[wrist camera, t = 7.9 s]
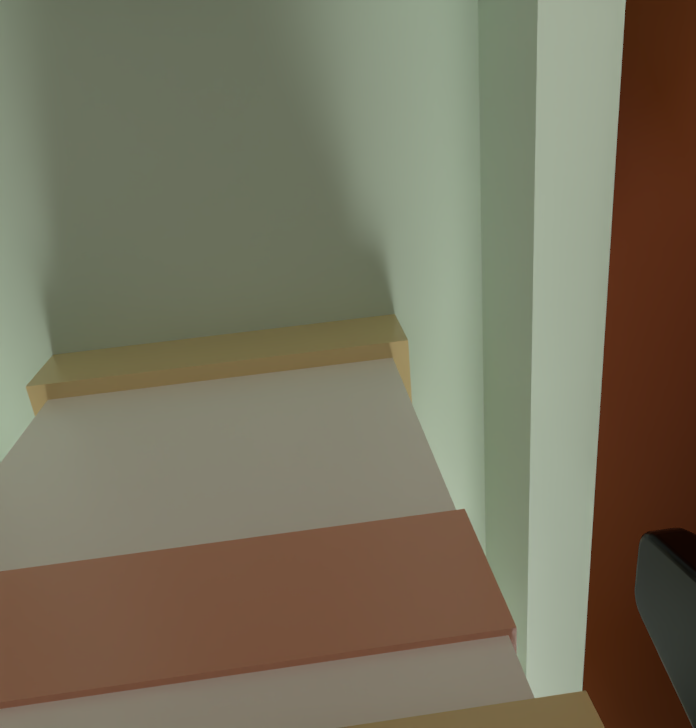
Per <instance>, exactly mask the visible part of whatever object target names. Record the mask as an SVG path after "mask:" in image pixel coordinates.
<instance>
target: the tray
mask: <svg viewBox="0 0 696 728" xmlns="http://www.w3.org/2000/svg"><path fill="white" fill-rule="evenodd" d="M625 4H626V0H0V463H1V462H2V460H3V459H4V458H5V456H6V455H7V454H8V452H9V451H10V450H11V448H12V447H13V446H14V444H15V443H16V442H17V440H18V439H19V438H20V436H21V435H22V434H23V432H24V431H25V430H26V428H27V427H28V426H29V424H30V423H31V422H32V420H33V419H34V418H35V415H34V412H33V409H32V405H31V402H30V399H29V396H28V393H27V389H26V386H27V384H28V383H29V382H30V381H31V380H32V379H33V377H34V376H35V375H36V374H37V373H38V372H39V370H40V369H41V368H42V367H43V366H44V365H45V363H46V362H47V361H48V360H49V359H50V358H51V356H52V355H55V354H63V353H72V352H80V351H88V350H97V349H105V348H114V347H122V346H130V345H139V344H147V343H156V342H164V341H172V340H181V339H189V338H197V337H206V336H214V335H223V334H231V333H239V332H248V331H256V330H265V329H273V328H281V327H290V326H298V325H307V324H315V323H323V322H332V321H340V320H349V319H357V318H365V317H374V316H382V315H390V314H395V315H396V317H397V319H398V321H399V323H400V325H401V327H402V329H403V331H404V333H405V335H406V337H407V339H408V346H409V362H410V379H411V395H412V405H413V407H414V410H415V412H416V415H417V417H418V419H419V422H420V424H421V427H422V429H423V431H424V434H425V436H426V439H427V441H428V443H429V446H430V448H431V451H432V453H433V455H434V458H435V460H436V463H437V465H438V467H439V470H440V472H441V475H442V477H443V479H444V482H445V484H446V487H447V489H448V491H449V494H450V496H451V499H452V501H453V503H454V506H455V508H456V510H459V509H465V511H466V513H467V515H468V517H469V520H470V522H471V524H472V526H473V529H474V531H475V533H476V536H477V538H478V540H479V542H480V545H481V547H482V549H483V552H484V554H485V556H486V558H487V561H488V563H489V565H490V568H491V570H492V572H493V574H494V577H495V579H496V581H497V584H498V586H499V588H500V590H501V593H502V595H503V597H504V599H505V602H506V604H507V606H508V609H509V611H510V613H511V615H512V618H513V620H514V622H515V625H516V627H517V657H518V659H519V662H520V664H521V666H522V669H523V671H524V674H525V676H526V678H527V681H528V683H529V686H530V688H531V690H532V693H533V695H534V698H540V697H546V696H553V695H559V694H566V693H573V692H579V691H582V686H583V670H584V654H585V638H586V622H587V606H588V591H589V575H590V559H591V543H592V527H593V511H594V496H595V480H596V464H597V448H598V432H599V416H600V400H601V385H602V369H603V353H604V337H605V321H606V305H607V289H608V274H609V258H610V242H611V226H612V210H613V194H614V179H615V163H616V147H617V131H618V115H619V99H620V83H621V68H622V52H623V36H624V20H625Z"/></svg>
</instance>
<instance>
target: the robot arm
mask: <svg viewBox="0 0 696 728" xmlns="http://www.w3.org/2000/svg"><path fill="white" fill-rule="evenodd" d="M635 599H636V604H637V607H638V610H639V613H640V615H641V618H642V620H643V622H644V624H645V626H646V628H647V630H648V633H649V635H650V637H651V639H652V641H653V643H654V645H655V648H656V650H657V652H658V654H659V656H660V658H661V660H662V663H663V665H664V667H665V669H666V671H667V673H668V675H669V678H670V680H671V682H672V684H673V686H674V688H675V690H676V693H677V695H678V697H679V699H680V701H681V703H682V705H683V708H684V710H685V712H686V714H687V716H688V718H689V720H690V723H691V725H692V727H693V728H696V534H694V533H692V532H690V531H687V530H685V529H682V528H670V529H663V530H656V531H649V532H647V533H645V534H644V535H643V536H642V537H641V539H640V543H639V551H638V561H637V571H636V581H635Z"/></svg>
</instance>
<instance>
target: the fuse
mask: <svg viewBox="0 0 696 728" xmlns="http://www.w3.org/2000/svg"><path fill="white" fill-rule="evenodd" d="M26 389H27V393H28V396H29V399H30V402H31V405H32V409H33V412H34V415H35V418H34V419H33V420H32V422H31V423H30V424H29V426H28V427H27V428H26V430H25V431H24V432H23V434H22V435H21V436H20V438H19V439H18V440H17V442H16V443H15V444H14V446H13V447H12V448H11V450H10V451H9V452H8V454H7V455H6V456H5V458H4V459H3V460H2V462H1V463H0V728H605V727H604V725H603V723H602V721H601V719H600V717H599V715H598V713H597V711H596V709H595V707H594V705H593V703H592V701H591V700H590V698H589V696H588V694H587V692H586V691H579V692H573V693H566V694H559V695H553V696H546V697H540V698H534V695H533V693H532V690H531V688H530V686H529V683H528V681H527V678H526V676H525V674H524V671H523V669H522V666H521V664H520V662H519V659H518V657H517V627H516V625H515V622H514V620H513V618H512V615H511V613H510V611H509V609H508V606H507V604H506V602H505V599H504V597H503V595H502V593H501V590H500V588H499V586H498V584H497V581H496V579H495V577H494V574H493V572H492V570H491V568H490V565H489V563H488V561H487V558H486V556H485V554H484V552H483V549H482V547H481V545H480V542H479V540H478V538H477V536H476V533H475V531H474V529H473V526H472V524H471V522H470V520H469V517H468V515H467V513H466V511H465V509H459V510H456V508H455V506H454V503H453V501H452V499H451V496H450V494H449V491H448V489H447V487H446V484H445V482H444V479H443V477H442V475H441V472H440V470H439V467H438V465H437V463H436V460H435V458H434V455H433V453H432V451H431V448H430V446H429V443H428V441H427V439H426V436H425V434H424V431H423V429H422V427H421V424H420V422H419V419H418V417H417V415H416V412H415V410H414V407H413V405H412V395H411V379H410V362H409V346H408V339H407V337H406V335H405V333H404V331H403V329H402V327H401V325H400V323H399V321H398V319H397V317H396V315H395V314H390V315H382V316H374V317H365V318H357V319H349V320H340V321H332V322H323V323H315V324H307V325H298V326H290V327H281V328H273V329H265V330H256V331H248V332H239V333H231V334H223V335H214V336H206V337H197V338H189V339H181V340H172V341H164V342H156V343H147V344H139V345H130V346H122V347H114V348H105V349H97V350H88V351H80V352H72V353H63V354H55V355H52V356H51V358H50V359H49V360H48V361H47V362H46V363H45V365H44V366H43V367H42V368H41V369H40V370H39V372H38V373H37V374H36V375H35V376H34V377H33V379H32V380H31V381H30V382H29V383H28V384H27V386H26Z"/></svg>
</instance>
